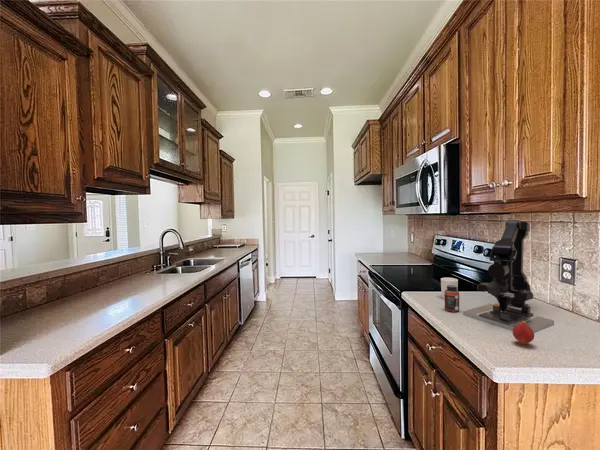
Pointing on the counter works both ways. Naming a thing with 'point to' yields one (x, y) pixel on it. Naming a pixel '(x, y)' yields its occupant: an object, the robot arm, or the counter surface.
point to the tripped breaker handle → (496, 307)
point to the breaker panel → (530, 323)
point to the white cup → (447, 282)
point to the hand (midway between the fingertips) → (503, 311)
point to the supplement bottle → (452, 298)
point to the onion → (523, 333)
